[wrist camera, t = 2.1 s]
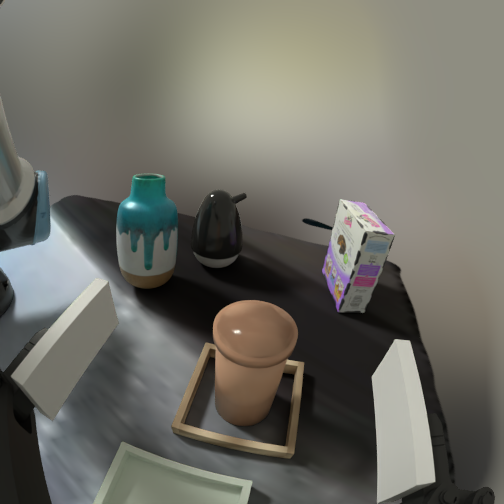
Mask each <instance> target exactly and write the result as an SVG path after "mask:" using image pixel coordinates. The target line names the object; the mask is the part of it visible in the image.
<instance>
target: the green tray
mask: <svg viewBox="0 0 504 504" xmlns="http://www.w3.org/2000/svg"><path fill="white" fill-rule="evenodd" d="M251 485H252V481H249V480H244V479H239V478H234V477H229V476H225V475H221V474H216V473H212V472H208V471H205V470H201V469H197V468H194V467H190V466H187V465H184V464H181V463H178V462H174V461H171V460H168V459H166V458H163V457H160V456H157V455H154V454H152V453H149V452H147V451H144V450H142V449H139V448H137V447H134V446H132V445H129V444H127V443H125V442H123V441H122V443H121V445H120V447H119V449H118V451H117V453H116V455H115V458H114V460H113V462H112V464H111V466H110V468H109V470H108V472H107V475H106V477H105V479H104V481H103V483H102V485H101V488H100V490H99V492H98V494H97V496H96V499H95V501H94V503H93V504H247V502H248V498H249V494H250V490H251Z"/></svg>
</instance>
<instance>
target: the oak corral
mask: <svg viewBox="0 0 504 504" xmlns="http://www.w3.org/2000/svg"><path fill="white" fill-rule="evenodd" d="M210 357H212V358H216V346H215V345H214V344H210V343H205V346H204V348H203V351H202V353H201V355H200V358H199V360H198V363H197V365H196V368H195V370H194V372H193V375H192V377H191V380H190V382H189V384H188V387H187V389H186V392H185V394H184V397H183V399H182V401H181V404H180V406H179V409H178V411H177V414H176V416H175V419H174V421H173V423H172V426H171V427H172V430H173V433H176V434H179V435H182V436H185V437H189V438H192V439H195V440H199V441H202V442H206V443H210V444H214V445H218V446H222V447H226V448H230V449H235V450H240V451H245V452H250V453H255V454H261V455H267V456H273V457H280V458H288V459H290V458H291V457H292V456H293V455H294V451H295V443H296V435H297V427H298V419H299V410H300V401H301V391H302V380H303V369H304V363H303V362H297V361H291V360H287V362H286V365H285V368H284V371H283V373H289V374H295V376H294V384H293V392H292V400H291V408H290V416H289V423H288V430H287V437H286V443H285V446H279V445H272V444H266V443H260V442H255V441H250V440H245V439H240V438H235V437H231V436H226V435H222V434H218V433H214V432H210V431H206V430H203V429H199V428H196V427H192V426H189V425H185V424H184V423H185V420H186V418H187V415H188V412H189V410H190V407H191V405H192V402H193V399H194V397H195V394H196V392H197V389H198V386H199V384H200V381H201V379H202V376H203V373H204V371H205V368H206V366H207V363H208V360H209V358H210Z"/></svg>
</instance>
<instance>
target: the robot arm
mask: <svg viewBox="0 0 504 504" xmlns="http://www.w3.org/2000/svg"><path fill="white" fill-rule="evenodd" d="M4 1H5V0H0V7H1V6H2V5H3V3H4ZM49 235H50V205H49V188H48V176H47V173H46V172H45V171H39V170H38V171H36V172H34V171H33V169H32V166H31V165H30V164H29V163H28V162H27V161H26V160H25V159H23V158H20V157H18V155H17V152H16V149H15V146H14V143H13V140H12V137H11V133H10V130H9V126H8V123H7V119H6V116H5V112H4V108H3V104H2V100H1V95H0V252H1V251H6V250H10V249H14V248H18V247H22V246H26V245H34V244H35V243H38V242H42V241H45V240H46V239H48V237H49ZM12 298H13V288H12V286H11V283H10V281H9V279H8V277H7V276H6V274H5V273H4V272H3V270H2V269H1V268H0V317H1V316H2V315H3V313H4V312H5V311H6V310H7V308H8V307H9V305H10V303H11V301H12ZM118 324H119V322H118V318H117V315H116V311H115V307H114V303H113V299H112V295H111V290H110V286H109V282H108V281H105V280H102V279H98V278H96V279H95V280H94V281H93V282H92V283H91V284H90V285H89V286H88V287H87V288H86V289H85V290H84V291H83V292H82V293H81V294H80V295H79V296H78V298H77V299H76V300H75V301H74V302H73V303H72V304H71V305H70V306H69V307H68V308H67V309H66V310H65V312H64V313H63V314H62V315H61V316H60V317H59V318H58V319H57V321H56V322H55V323H54V324H53V325H52V326H51V327H50V328H49V329H47V328H44V329H42V330H40V331H39V332H37V333H36V334H35V335H34V336H33V337H32V338H31V340H30V341H29V343H27V344H26V345H25V347H24V349H22V350H21V351H20V353H19V354H18V355H17V356H16V358H15V359H14V360H13V361H12V363H11V364H10V365H9V366H8V368H7V369H6V370H5V371H4V372H2V371H1V369H0V504H52V503H51V499H50V496H49V492H48V488H47V484H46V480H45V476H44V471H43V467H42V462H41V456H40V450H39V444H38V437H37V430H36V421H35V414H34V410H33V409H34V407H36V408H37V409H38V410H39V412H40V413H42V414H43V415H44V416H46V417H47V418H49V419H50V420H52V421H53V420H54V418H55V417H56V415H57V414H58V412H59V410H60V409H61V407H62V406H63V404H64V402H65V401H66V399H67V398H68V396H69V395H70V393H71V392H72V390H73V389H74V387H75V385H76V384H77V382H78V381H79V379H80V378H81V376H82V375H83V373H84V372H85V370H86V369H87V368H88V366H89V365H90V363H91V362H92V360H93V359H94V357H95V356H96V354H97V353H98V352H99V350H100V349H101V347H102V346H103V345H104V343H105V342H106V340H107V339H108V338H109V336H110V335H111V333H112V332H113V331H114V329H115V328H116V326H117V325H118ZM372 384H373V394H374V405H375V419H376V436H377V472H378V480H377V503H385V502H394V501H396V500H399V499H401V498H402V503H400V504H494V500H495V496H494V492H493V491H492V489H490V488H489V487H483V488H481V489H479V490H477V491H467V490H460V489H458V487H457V486H456V485H455V484H453V483H451V480H450V477H449V469H448V460H447V453H446V446H445V440H444V437H443V435H444V434H443V428H442V423H441V422H440V420H439V418H438V416H437V415H436V414H427V413H426V407H425V402H424V397H423V393H422V388H421V383H420V379H419V375H418V371H417V366H416V362H415V359H414V355H413V351H412V347H411V344H410V341H407V340H397V339H395V340H394V342H393V344H392V346H391V347H390V349H389V350H388V352H387V354H386V355H385V357H384V359H383V360H382V362H381V363H380V365H379V366H378V368H377V370H376V371H375V373H374V374H373V376H372Z"/></svg>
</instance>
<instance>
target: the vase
mask: <svg viewBox="0 0 504 504" xmlns="http://www.w3.org/2000/svg"><path fill="white" fill-rule="evenodd" d="M116 234H117V253H118V260H119V266H120V270H121V273H122V275H123V277H124V278H125V279H126V281H127V282H129V283H130V284H131V285H133V286H136V287H139V288H145V289H149V288H156V287H159V286H161V285H163V284H165V283H166V282H167V281H168V280H169V279H170V278H171V276H172V274H173V272H174V269H175V263H176V255H177V241H178V214H177V208H176V206H175V203H174V202H173V201H172V200H170V199H168V198H167V197H166V193H165V177H164V176H163V175H159V174H137V175H134V176H133V179H132V188H131V194H130V196H129V197H128V198H127V199H125V200H124V201H122V203H121V204H120V206H119V209H118V214H117V229H116Z"/></svg>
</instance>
